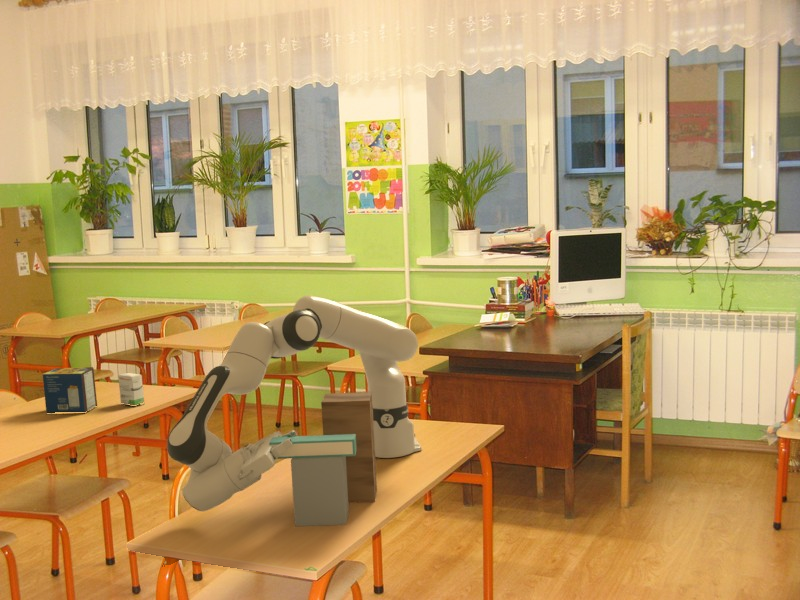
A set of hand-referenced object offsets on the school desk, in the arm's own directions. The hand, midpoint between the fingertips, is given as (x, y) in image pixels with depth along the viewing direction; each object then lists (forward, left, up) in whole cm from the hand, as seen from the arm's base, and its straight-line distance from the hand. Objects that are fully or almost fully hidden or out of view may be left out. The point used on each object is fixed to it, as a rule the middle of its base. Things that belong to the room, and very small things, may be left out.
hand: (293, 437), depth 210 cm
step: (0, +6, -20) cm, 21 cm away
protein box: (-117, -102, -21) cm, 157 cm away
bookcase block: (-15, +12, -20) cm, 28 cm away
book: (0, +5, -4) cm, 6 cm away
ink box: (-123, -81, -21) cm, 149 cm away
